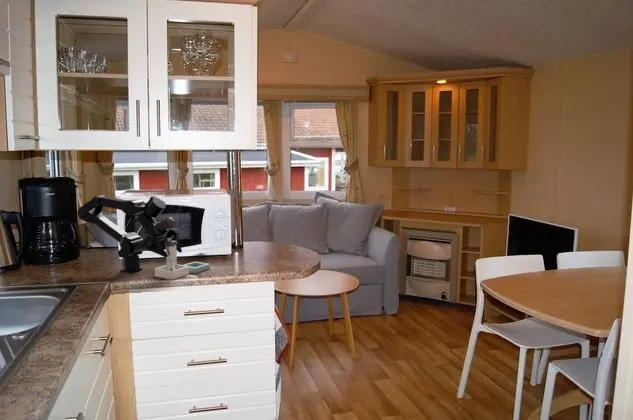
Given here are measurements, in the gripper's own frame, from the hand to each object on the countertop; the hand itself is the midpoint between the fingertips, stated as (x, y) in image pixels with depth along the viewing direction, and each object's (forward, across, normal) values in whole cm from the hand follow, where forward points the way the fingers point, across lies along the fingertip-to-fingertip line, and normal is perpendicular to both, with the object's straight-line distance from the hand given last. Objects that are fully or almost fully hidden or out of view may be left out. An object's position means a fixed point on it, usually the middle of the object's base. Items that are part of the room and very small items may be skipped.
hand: (174, 254), depth 203 cm
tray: (+5, 0, +7) cm, 9 cm away
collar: (+8, +11, +4) cm, 14 cm away
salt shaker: (+5, 0, +7) cm, 8 cm away
